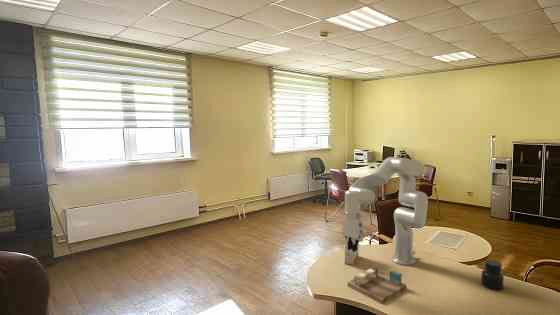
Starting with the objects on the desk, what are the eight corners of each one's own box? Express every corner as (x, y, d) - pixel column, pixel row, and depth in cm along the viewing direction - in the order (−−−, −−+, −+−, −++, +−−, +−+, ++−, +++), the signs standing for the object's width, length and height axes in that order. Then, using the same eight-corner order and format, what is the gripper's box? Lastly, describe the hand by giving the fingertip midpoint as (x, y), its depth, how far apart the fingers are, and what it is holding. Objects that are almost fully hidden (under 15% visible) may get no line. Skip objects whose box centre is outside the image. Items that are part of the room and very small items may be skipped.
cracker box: (354, 265, 178) (354, 230, 175) (344, 264, 180) (344, 229, 178) (359, 256, 190) (359, 222, 188) (349, 254, 193) (349, 221, 190)
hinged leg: (373, 273, 163) (373, 266, 162) (378, 276, 160) (378, 268, 160) (354, 283, 154) (354, 276, 153) (359, 286, 151) (359, 278, 151)
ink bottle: (500, 283, 155) (501, 260, 154) (507, 292, 147) (508, 268, 145) (478, 280, 158) (479, 257, 157) (483, 289, 150) (484, 265, 149)
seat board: (372, 273, 168) (372, 261, 167) (406, 288, 152) (406, 275, 151) (347, 286, 156) (347, 272, 155) (382, 303, 140) (382, 289, 139)
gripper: (370, 217, 152) (370, 253, 154) (345, 210, 164) (345, 243, 166) (360, 220, 147) (360, 257, 149) (335, 212, 160) (335, 247, 162)
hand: (352, 249), depth 158 cm, fingers closed
